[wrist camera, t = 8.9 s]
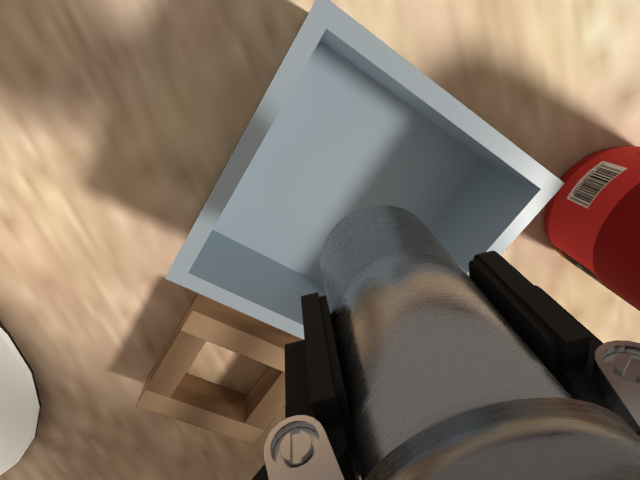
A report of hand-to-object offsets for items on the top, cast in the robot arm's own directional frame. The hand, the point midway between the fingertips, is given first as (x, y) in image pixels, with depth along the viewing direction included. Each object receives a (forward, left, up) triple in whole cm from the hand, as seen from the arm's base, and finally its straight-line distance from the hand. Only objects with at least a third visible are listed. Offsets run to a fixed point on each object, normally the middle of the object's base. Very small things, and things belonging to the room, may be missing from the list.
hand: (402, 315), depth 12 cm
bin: (0, 0, -13) cm, 13 cm away
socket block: (0, +15, -13) cm, 20 cm away
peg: (0, 0, -3) cm, 3 cm away
